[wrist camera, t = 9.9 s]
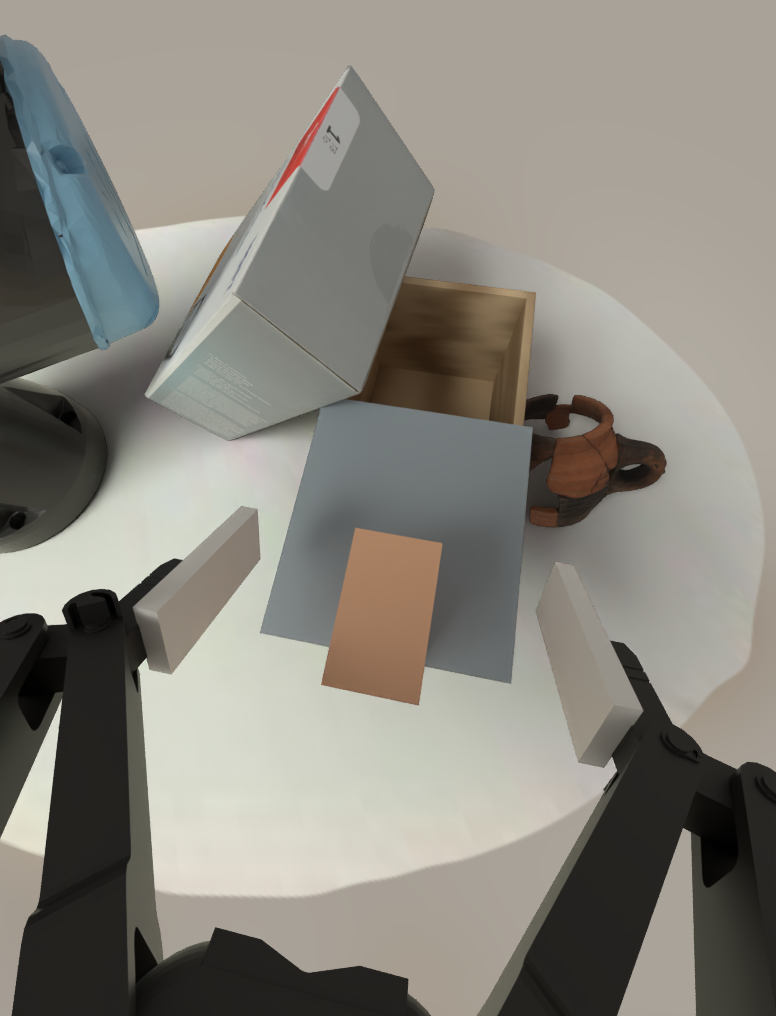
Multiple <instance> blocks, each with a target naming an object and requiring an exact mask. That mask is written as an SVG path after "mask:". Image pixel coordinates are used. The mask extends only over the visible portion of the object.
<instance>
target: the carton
mask: <svg viewBox="0 0 776 1016" xmlns="http://www.w3.org/2000/svg"><path fill="white" fill-rule="evenodd" d="M535 298H536V293H535V292H527V291H518V290H510V289H502V288H494V287H486V286H478V285H470V284H462V283H454V282H446V281H438V280H429V279H421V278H413V277H405V276H404V279H403V282H402V285H401V288H400V290H399V293H398V296H397V298H396V301H395V304H394V306H393V309H392V312H391V315H390V317H389V320H388V323H387V326H386V329H385V332H384V335H383V337H382V340H381V342H380V345H379V348H378V351H377V354H376V356H375V359H374V362H373V365H372V367H371V370H370V373H369V376H368V378H367V381H366V383H365V386H364V388H363V390H362V392H361V393H360V394H357V395H354V396H351V397H349V398H346V399H348V400H355V401H361V402H368V403H375V404H381V405H388V406H394V407H401V408H408V409H414V410H421V411H428V412H434V413H441V414H448V415H454V416H461V417H467V418H474V419H481V420H487V421H494V422H501V423H507V424H514V425H521V426H524V416H525V405H526V394H527V384H528V373H529V362H530V352H531V341H532V330H533V319H534V309H535Z"/></svg>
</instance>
